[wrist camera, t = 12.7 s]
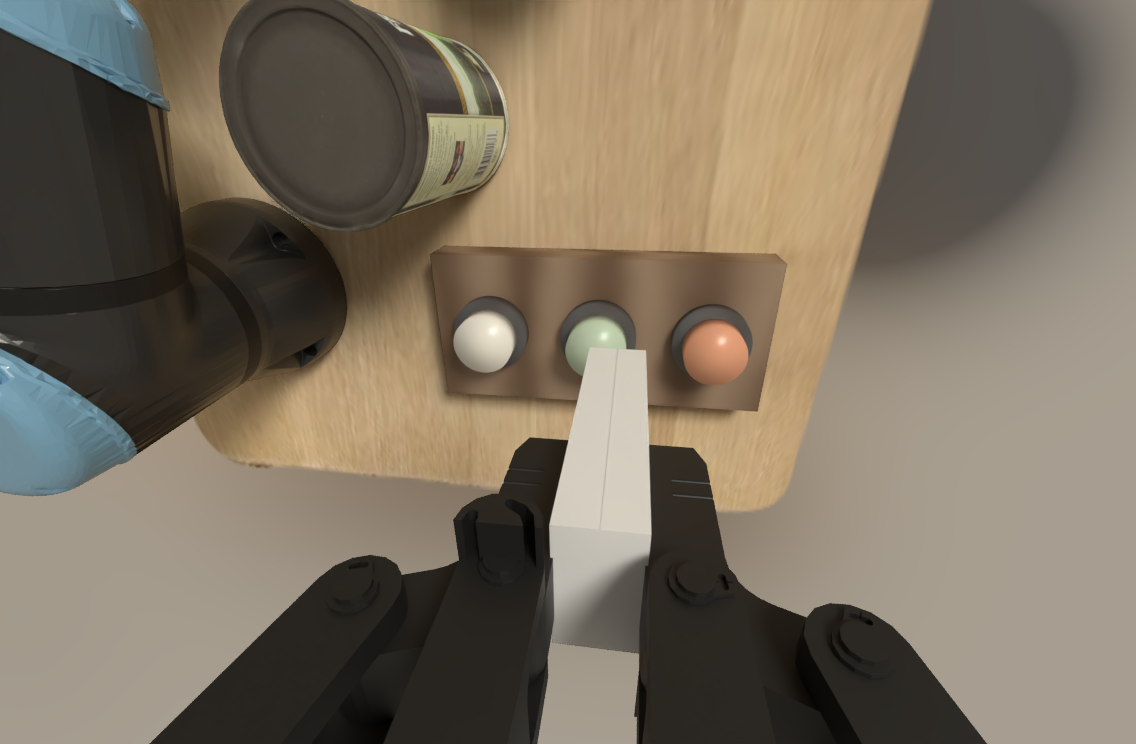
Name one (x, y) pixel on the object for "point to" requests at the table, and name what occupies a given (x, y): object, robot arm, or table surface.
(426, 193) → the coffee can
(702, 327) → the button terracotta
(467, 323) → the button cream
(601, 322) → the button green
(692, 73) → the table surface
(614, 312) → the button panel
